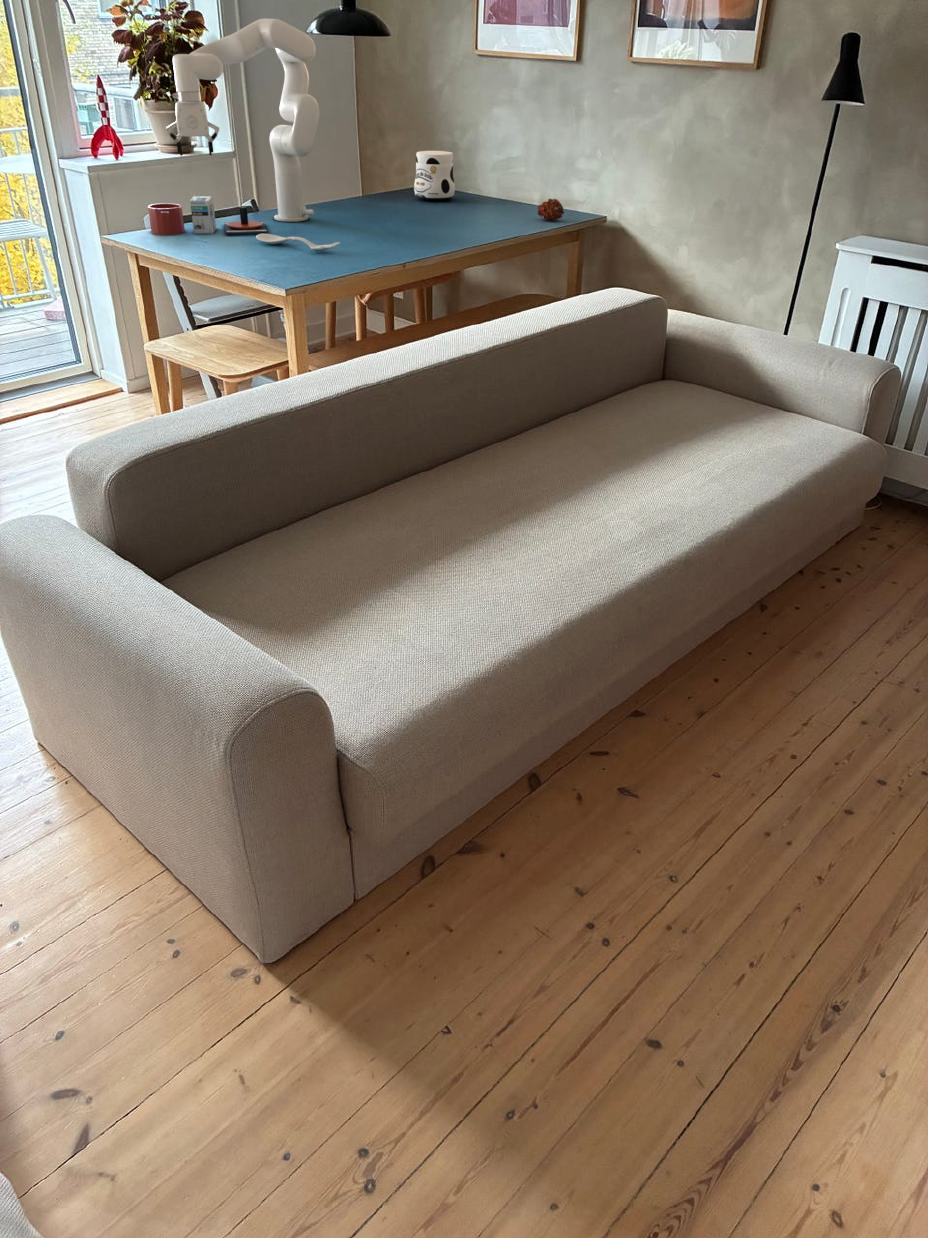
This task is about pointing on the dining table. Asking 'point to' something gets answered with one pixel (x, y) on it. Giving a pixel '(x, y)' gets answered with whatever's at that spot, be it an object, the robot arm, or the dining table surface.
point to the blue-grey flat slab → (245, 231)
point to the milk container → (434, 175)
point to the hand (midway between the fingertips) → (196, 154)
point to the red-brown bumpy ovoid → (551, 210)
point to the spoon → (277, 240)
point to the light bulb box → (203, 214)
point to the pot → (166, 219)
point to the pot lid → (244, 221)
